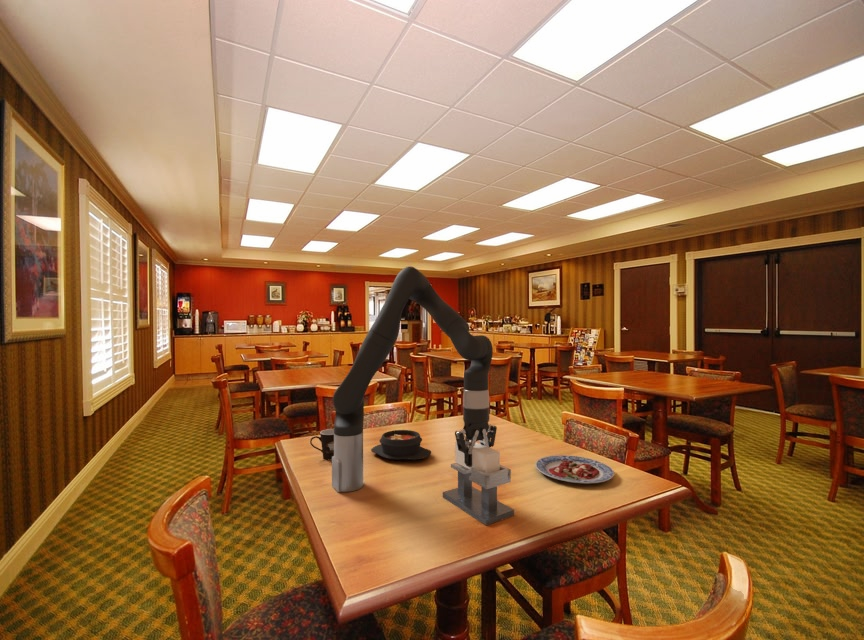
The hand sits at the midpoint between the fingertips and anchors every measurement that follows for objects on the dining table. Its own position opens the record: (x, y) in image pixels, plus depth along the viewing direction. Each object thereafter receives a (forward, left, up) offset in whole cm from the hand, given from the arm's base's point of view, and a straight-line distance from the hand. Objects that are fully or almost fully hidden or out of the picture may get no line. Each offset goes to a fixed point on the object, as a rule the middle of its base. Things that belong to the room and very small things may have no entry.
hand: (476, 463), depth 113 cm
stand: (0, 0, -12) cm, 12 cm away
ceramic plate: (+44, +1, -12) cm, 46 cm away
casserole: (+2, +50, -12) cm, 52 cm away
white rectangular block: (0, 0, -1) cm, 1 cm away
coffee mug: (-23, +64, -12) cm, 69 cm away
